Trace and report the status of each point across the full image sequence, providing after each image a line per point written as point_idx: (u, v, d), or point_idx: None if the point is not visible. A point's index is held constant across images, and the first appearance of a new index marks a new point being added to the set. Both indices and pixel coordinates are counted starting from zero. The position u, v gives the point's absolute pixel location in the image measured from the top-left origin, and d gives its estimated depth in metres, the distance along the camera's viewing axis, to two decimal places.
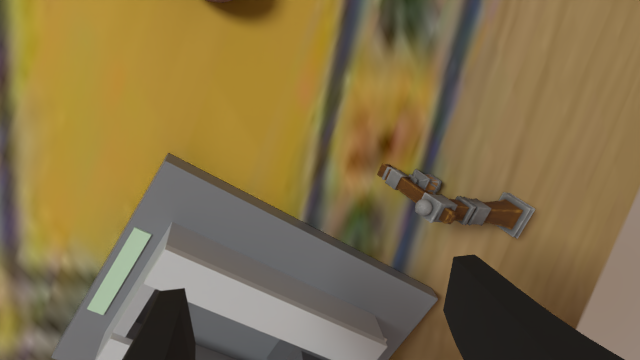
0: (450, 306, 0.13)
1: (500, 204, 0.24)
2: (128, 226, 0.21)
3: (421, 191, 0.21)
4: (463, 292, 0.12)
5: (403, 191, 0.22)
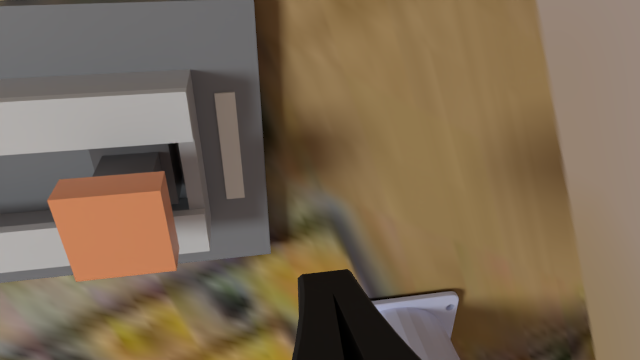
0: None
1: None
2: None
3: None
4: None
5: None
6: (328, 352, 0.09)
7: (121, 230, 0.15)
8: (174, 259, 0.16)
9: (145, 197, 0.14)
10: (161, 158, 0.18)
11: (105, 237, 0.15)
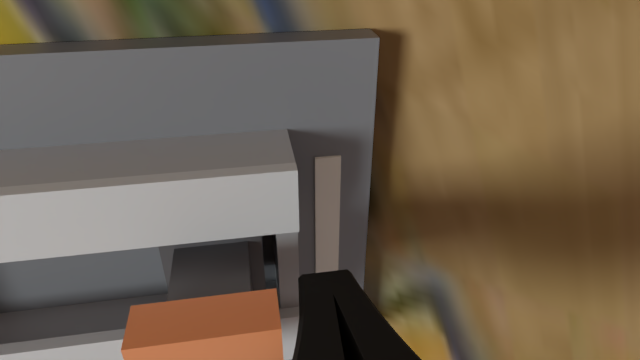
0: None
1: None
2: None
3: None
4: None
5: None
6: (328, 352, 0.09)
7: None
8: None
9: (260, 337, 0.10)
10: (251, 249, 0.13)
11: None
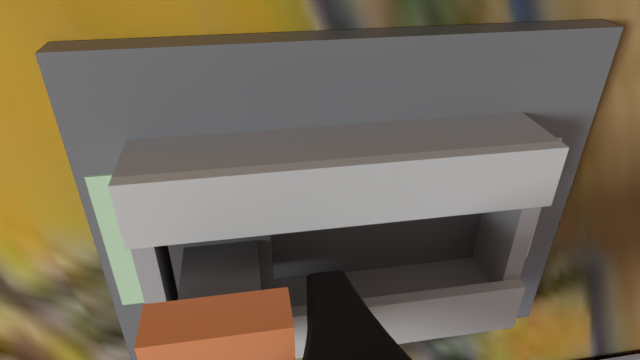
0: None
1: None
2: (77, 180, 0.13)
3: None
4: None
5: None
6: (339, 350, 0.09)
7: None
8: None
9: (272, 336, 0.10)
10: (260, 248, 0.13)
11: None
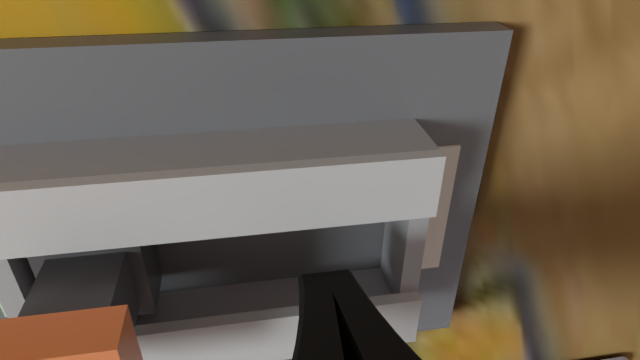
0: None
1: None
2: None
3: None
4: None
5: None
6: (328, 352, 0.09)
7: None
8: None
9: (94, 359, 0.09)
10: (130, 260, 0.13)
11: None
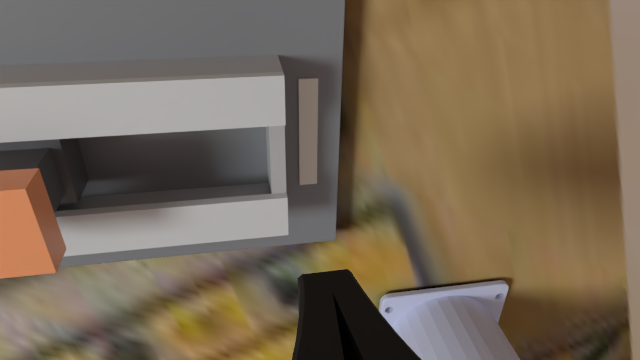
0: None
1: None
2: None
3: None
4: None
5: None
6: (328, 352, 0.09)
7: None
8: (52, 261, 0.15)
9: (10, 195, 0.14)
10: (53, 155, 0.17)
11: None
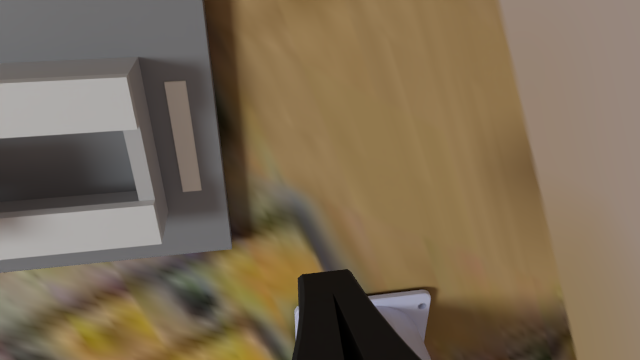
0: None
1: None
2: None
3: None
4: None
5: None
6: (328, 352, 0.09)
7: None
8: None
9: None
10: None
11: None
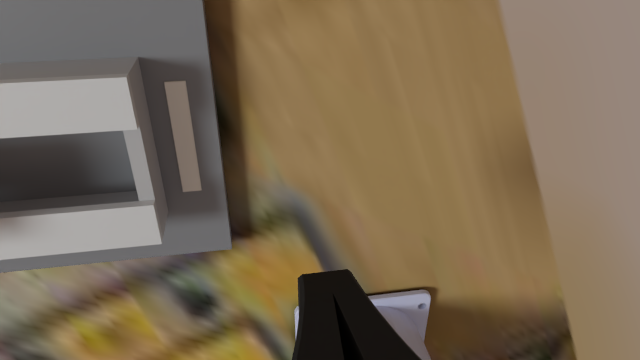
0: None
1: None
2: None
3: None
4: None
5: None
6: (328, 352, 0.09)
7: None
8: None
9: None
10: None
11: None
